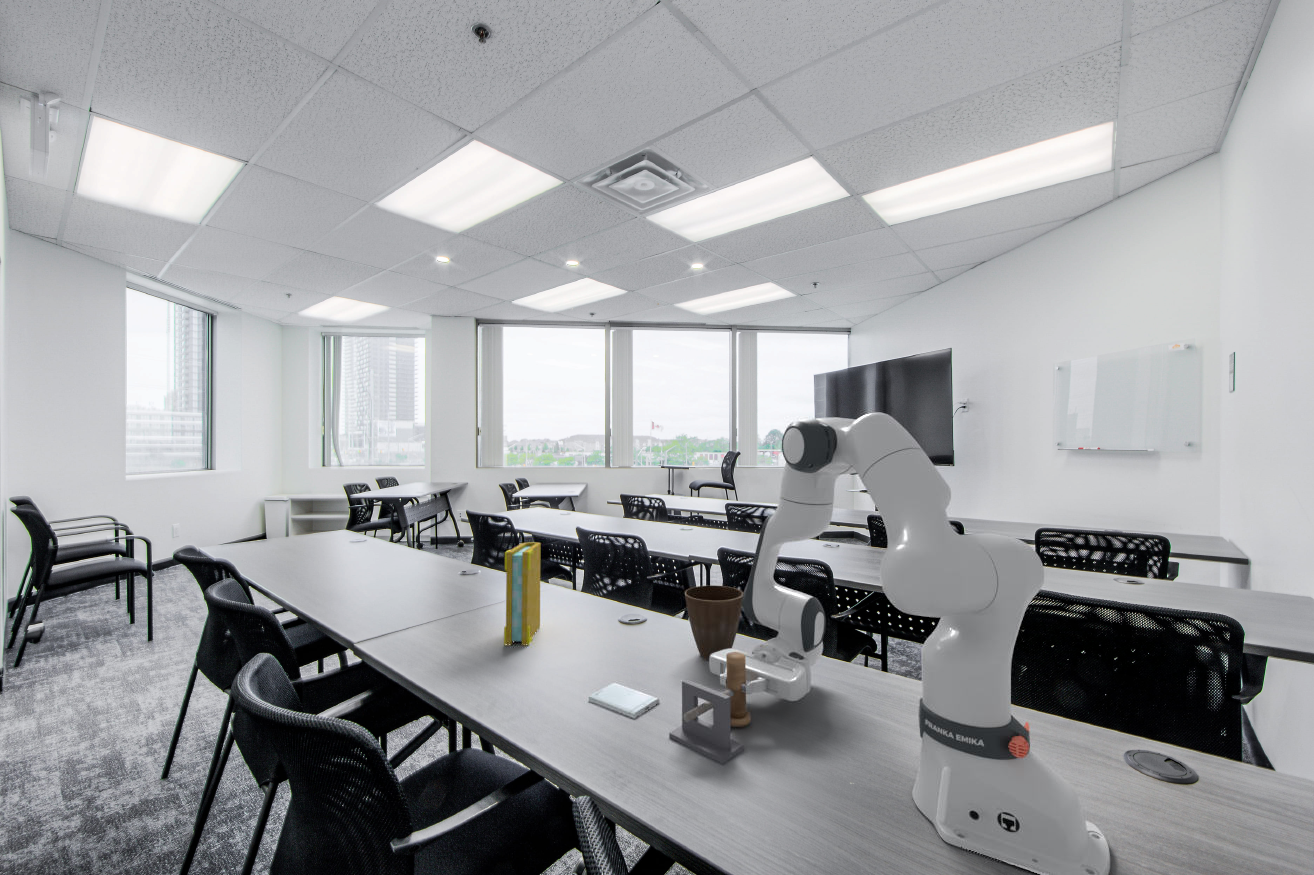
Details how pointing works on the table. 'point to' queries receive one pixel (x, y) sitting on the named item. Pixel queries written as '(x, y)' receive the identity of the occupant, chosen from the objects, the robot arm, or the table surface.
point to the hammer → (730, 693)
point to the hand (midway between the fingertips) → (733, 685)
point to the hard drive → (623, 700)
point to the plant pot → (713, 617)
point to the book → (522, 592)
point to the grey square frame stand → (707, 724)
